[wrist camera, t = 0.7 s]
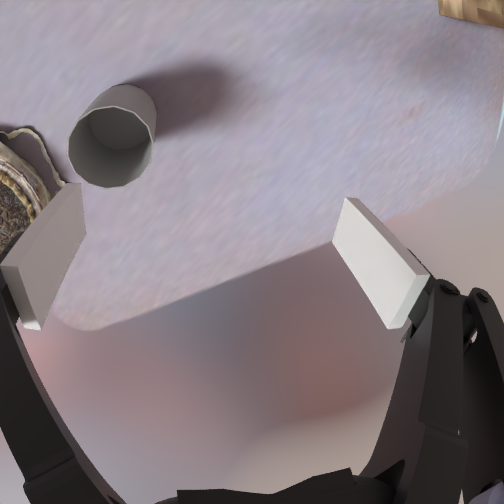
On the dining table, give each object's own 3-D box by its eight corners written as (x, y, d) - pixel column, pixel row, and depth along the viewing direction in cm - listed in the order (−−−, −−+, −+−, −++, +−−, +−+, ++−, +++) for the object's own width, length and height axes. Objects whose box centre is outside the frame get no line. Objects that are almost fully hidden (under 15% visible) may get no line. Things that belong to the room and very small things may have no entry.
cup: (137, 71, 28) (125, 88, 21) (168, 127, 34) (169, 161, 27) (77, 110, 29) (50, 140, 22) (111, 160, 35) (98, 202, 28)
